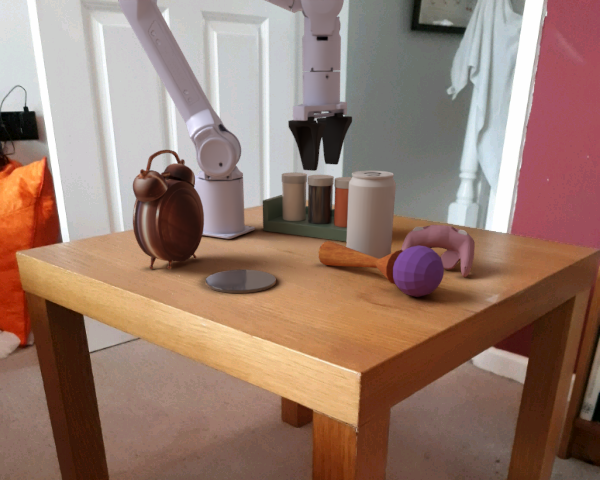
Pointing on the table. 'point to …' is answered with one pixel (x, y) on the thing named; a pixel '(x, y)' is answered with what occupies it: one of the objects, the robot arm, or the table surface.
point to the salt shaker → (294, 196)
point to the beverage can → (371, 212)
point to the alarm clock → (167, 212)
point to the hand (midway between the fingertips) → (321, 167)
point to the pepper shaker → (320, 199)
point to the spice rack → (298, 223)
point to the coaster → (240, 281)
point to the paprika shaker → (341, 201)
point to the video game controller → (445, 244)
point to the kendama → (393, 266)
